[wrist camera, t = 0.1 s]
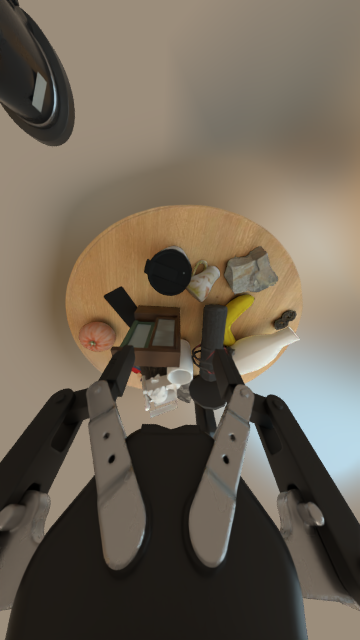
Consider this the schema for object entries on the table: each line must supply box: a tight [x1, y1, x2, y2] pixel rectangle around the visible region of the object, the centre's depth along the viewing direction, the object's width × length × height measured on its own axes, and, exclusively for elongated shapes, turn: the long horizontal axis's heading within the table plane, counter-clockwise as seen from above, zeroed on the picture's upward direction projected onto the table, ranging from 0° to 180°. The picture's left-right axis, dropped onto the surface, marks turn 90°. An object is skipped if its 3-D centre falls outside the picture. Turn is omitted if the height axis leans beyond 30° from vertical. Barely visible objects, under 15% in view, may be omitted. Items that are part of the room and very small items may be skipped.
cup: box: [167, 339, 193, 385], centre depth 44 cm, size 8×8×14 cm
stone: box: [224, 246, 278, 294], centre depth 34 cm, size 11×12×5 cm
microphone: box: [189, 304, 235, 410], centre depth 40 cm, size 14×13×30 cm
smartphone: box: [104, 287, 137, 328], centre depth 42 cm, size 7×1×15 cm
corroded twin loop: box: [275, 311, 296, 330], centre depth 44 cm, size 5×8×1 cm, turn 155°
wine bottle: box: [193, 375, 217, 438], centre depth 49 cm, size 6×6×30 cm
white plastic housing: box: [141, 374, 181, 418], centre depth 44 cm, size 13×12×8 cm
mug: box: [186, 260, 220, 302], centre depth 35 cm, size 8×10×10 cm
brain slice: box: [165, 380, 192, 403], centre depth 57 cm, size 20×17×3 cm
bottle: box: [225, 326, 300, 375], centre depth 43 cm, size 11×11×25 cm
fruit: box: [224, 295, 255, 347], centre depth 42 cm, size 10×5×20 cm
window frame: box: [111, 305, 181, 368], centre depth 34 cm, size 13×4×20 cm, turn 86°
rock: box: [140, 366, 167, 380], centre depth 50 cm, size 10×11×10 cm
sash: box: [120, 320, 155, 348], centre depth 33 cm, size 6×2×13 cm, turn 86°
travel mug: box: [144, 246, 192, 296], centre depth 25 cm, size 6×7×20 cm
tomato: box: [79, 322, 116, 351], centre depth 43 cm, size 11×11×8 cm
